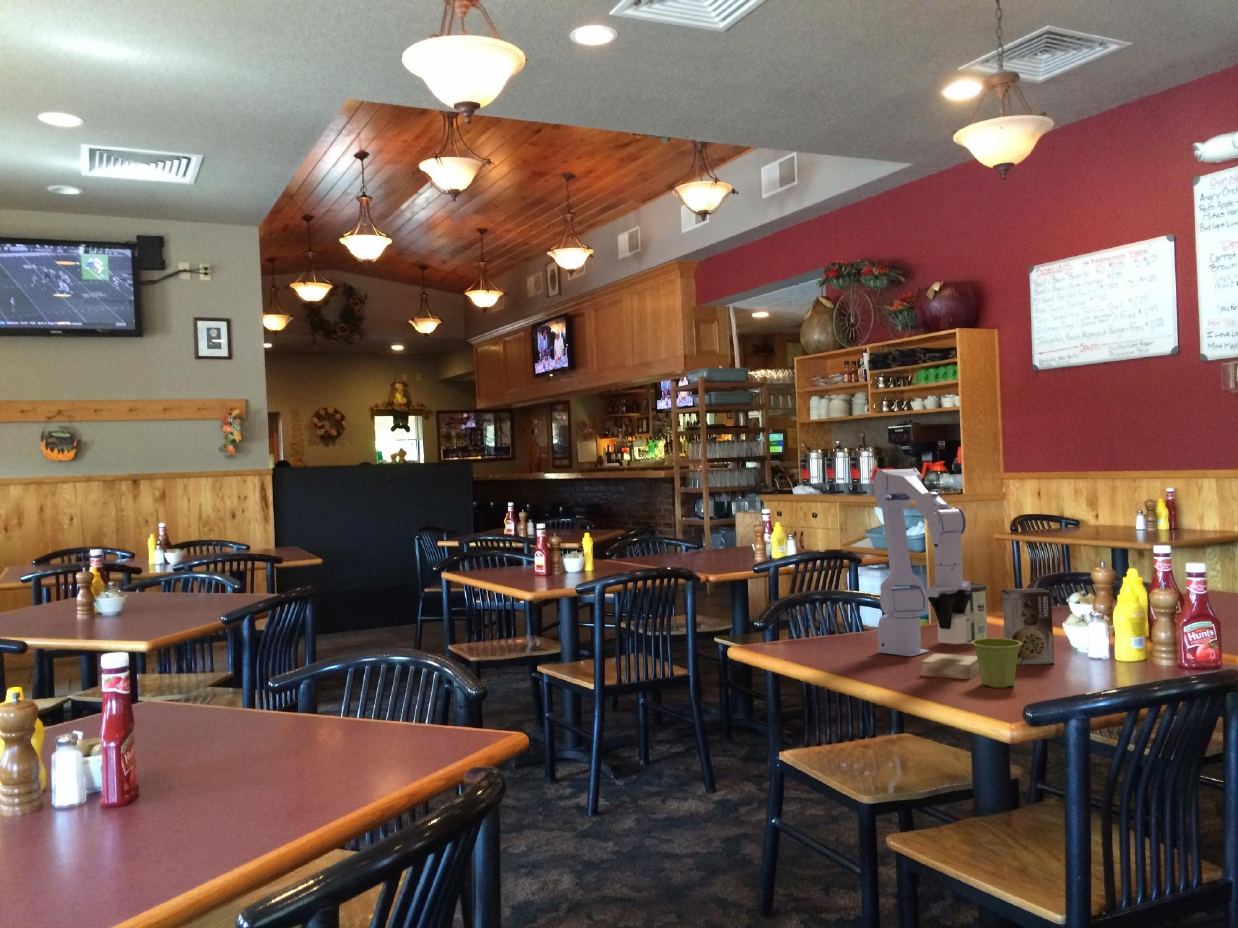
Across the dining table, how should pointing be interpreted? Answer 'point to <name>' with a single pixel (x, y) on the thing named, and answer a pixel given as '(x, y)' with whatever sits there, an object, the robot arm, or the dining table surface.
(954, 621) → the white rectangular block
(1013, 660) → the plant pot
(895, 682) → the dining table surface
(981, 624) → the coffee can
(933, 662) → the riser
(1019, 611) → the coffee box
